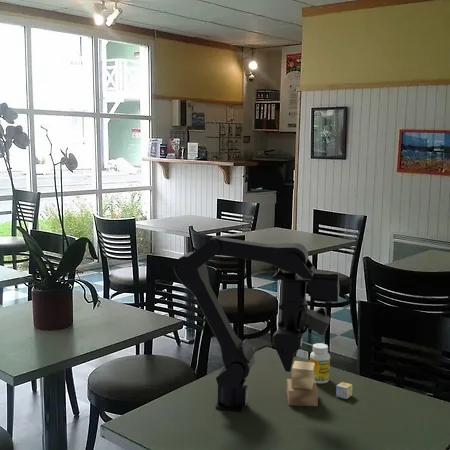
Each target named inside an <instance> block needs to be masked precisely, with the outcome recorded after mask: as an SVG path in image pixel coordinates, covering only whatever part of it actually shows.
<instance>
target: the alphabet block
mask: <svg viewBox="0 0 450 450" xmlns="http://www.w3.org/2000/svg"><path fill="white" fill-rule="evenodd" d="M335 392H336V393H335V396H336V397H337V398H341V399H345V400H348V399H349V398H351V397H352V395H353V384H352V383H348V382H344V381H341V382H340V383H338V384H336V386H335Z"/></svg>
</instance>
